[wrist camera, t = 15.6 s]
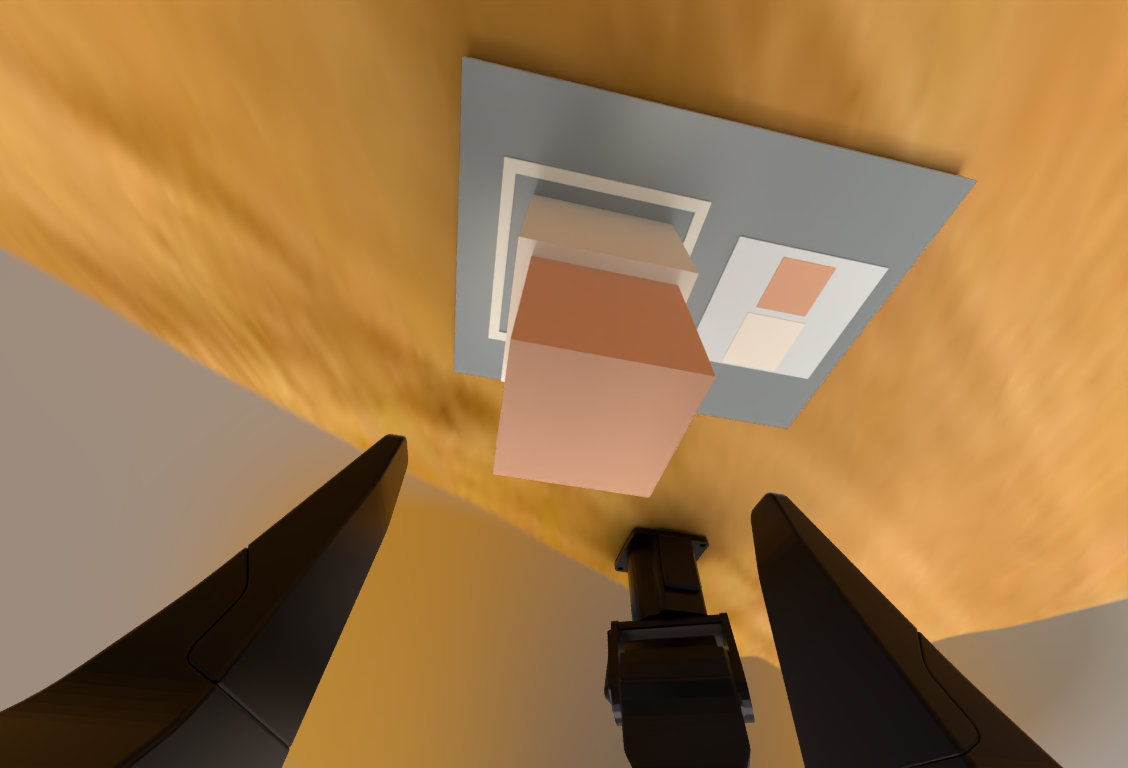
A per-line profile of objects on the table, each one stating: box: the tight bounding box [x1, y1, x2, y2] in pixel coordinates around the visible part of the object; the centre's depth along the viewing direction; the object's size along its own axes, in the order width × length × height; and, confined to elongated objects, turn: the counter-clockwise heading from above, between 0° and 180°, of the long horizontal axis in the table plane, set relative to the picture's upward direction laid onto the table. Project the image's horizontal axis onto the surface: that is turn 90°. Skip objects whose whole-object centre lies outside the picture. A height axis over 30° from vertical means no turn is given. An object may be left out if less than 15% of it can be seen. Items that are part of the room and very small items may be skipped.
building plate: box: [454, 57, 977, 429], centre depth 20 cm, size 14×20×1 cm
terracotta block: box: [493, 256, 716, 498], centre depth 13 cm, size 5×5×5 cm
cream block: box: [501, 194, 699, 382], centre depth 17 cm, size 6×6×5 cm
